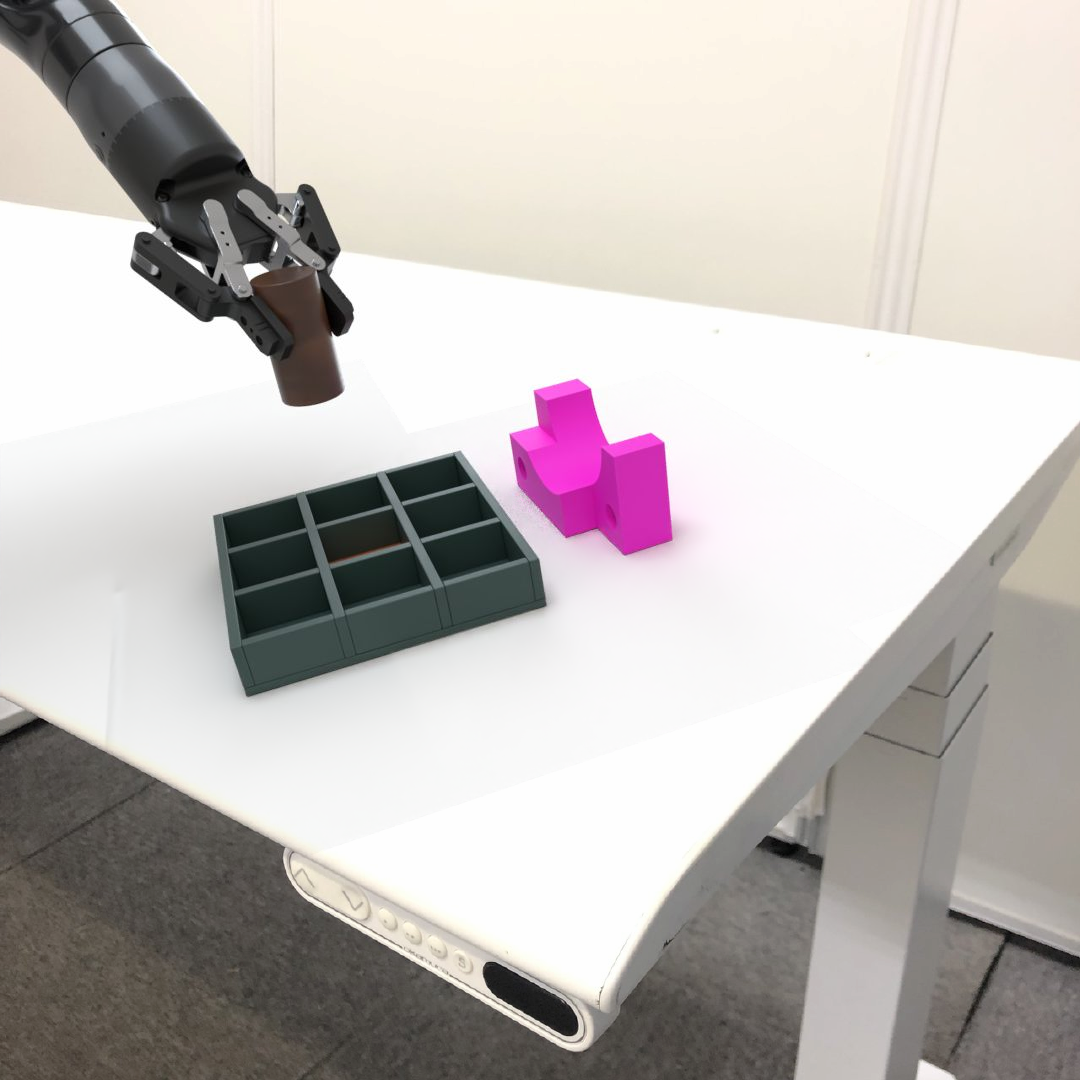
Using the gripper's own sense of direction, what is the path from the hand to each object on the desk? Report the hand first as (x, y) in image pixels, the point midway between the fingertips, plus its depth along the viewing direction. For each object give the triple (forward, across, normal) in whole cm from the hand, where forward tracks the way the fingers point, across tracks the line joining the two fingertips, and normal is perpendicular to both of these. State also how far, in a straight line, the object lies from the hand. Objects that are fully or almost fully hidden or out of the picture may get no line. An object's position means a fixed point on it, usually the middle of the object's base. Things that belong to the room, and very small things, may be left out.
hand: (317, 338), depth 65 cm
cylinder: (+2, 0, +4) cm, 4 cm away
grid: (+13, 0, +12) cm, 18 cm away
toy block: (+18, +15, +7) cm, 24 cm away
